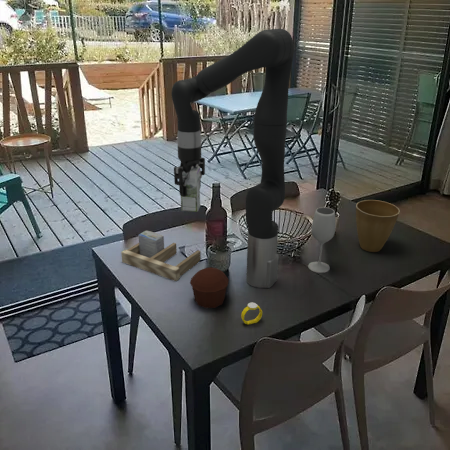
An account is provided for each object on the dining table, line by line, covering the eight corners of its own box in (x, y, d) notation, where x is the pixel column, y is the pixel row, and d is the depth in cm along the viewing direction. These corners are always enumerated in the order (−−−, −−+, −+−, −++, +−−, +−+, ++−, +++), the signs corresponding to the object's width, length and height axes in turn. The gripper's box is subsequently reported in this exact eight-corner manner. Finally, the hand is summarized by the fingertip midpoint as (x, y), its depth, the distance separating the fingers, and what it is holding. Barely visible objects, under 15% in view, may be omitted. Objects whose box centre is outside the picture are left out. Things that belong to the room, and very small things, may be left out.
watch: (258, 318, 139) (260, 300, 137) (262, 323, 137) (265, 305, 134) (239, 321, 137) (241, 303, 134) (243, 327, 134) (245, 309, 132)
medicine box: (165, 257, 170) (164, 235, 166) (157, 262, 166) (155, 240, 162) (147, 251, 173) (146, 229, 170) (139, 256, 170) (137, 234, 166)
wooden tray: (202, 261, 167) (201, 251, 165) (176, 281, 156) (175, 270, 154) (150, 244, 178) (149, 235, 176) (122, 262, 166) (121, 252, 164)
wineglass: (334, 267, 165) (341, 210, 156) (322, 275, 160) (329, 217, 151) (315, 259, 170) (321, 204, 161) (303, 267, 165) (308, 210, 155)
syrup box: (200, 205, 166) (200, 165, 160) (197, 212, 161) (196, 170, 154) (184, 204, 167) (182, 164, 160) (180, 211, 161) (179, 170, 155)
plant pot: (376, 261, 169) (383, 220, 162) (342, 245, 179) (347, 205, 172) (400, 249, 177) (408, 209, 170) (366, 234, 188) (372, 196, 181)
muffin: (204, 285, 154) (204, 258, 149) (235, 295, 149) (235, 267, 144) (183, 304, 144) (182, 275, 140) (214, 315, 139) (215, 286, 135)
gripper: (185, 151, 147) (186, 201, 154) (211, 140, 158) (211, 188, 165) (165, 147, 150) (168, 196, 157) (192, 137, 161) (193, 183, 168)
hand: (190, 192), depth 161 cm, fingers closed on syrup box, 7 cm apart
